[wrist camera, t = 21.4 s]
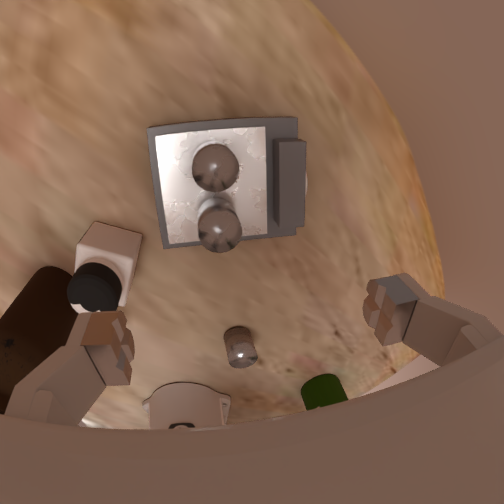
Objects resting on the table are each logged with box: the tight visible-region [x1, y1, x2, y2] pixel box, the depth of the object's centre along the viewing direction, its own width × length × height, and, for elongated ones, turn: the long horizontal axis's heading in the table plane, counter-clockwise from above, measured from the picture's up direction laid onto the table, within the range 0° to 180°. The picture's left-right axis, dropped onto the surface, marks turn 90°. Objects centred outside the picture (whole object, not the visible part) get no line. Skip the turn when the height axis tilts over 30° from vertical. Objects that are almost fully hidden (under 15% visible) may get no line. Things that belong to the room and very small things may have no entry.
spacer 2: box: [197, 198, 242, 253], centre depth 33 cm, size 4×4×5 cm
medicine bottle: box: [67, 222, 142, 314], centre depth 33 cm, size 7×7×12 cm
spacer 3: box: [224, 327, 258, 368], centre depth 46 cm, size 4×4×5 cm
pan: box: [155, 126, 267, 244], centre depth 34 cm, size 13×12×1 cm
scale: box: [147, 117, 307, 249], centre depth 34 cm, size 15×18×6 cm
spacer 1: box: [192, 141, 239, 192], centre depth 30 cm, size 4×4×5 cm
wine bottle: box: [301, 374, 348, 411], centre depth 46 cm, size 9×9×33 cm
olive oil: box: [0, 267, 79, 415], centre depth 28 cm, size 11×11×25 cm
